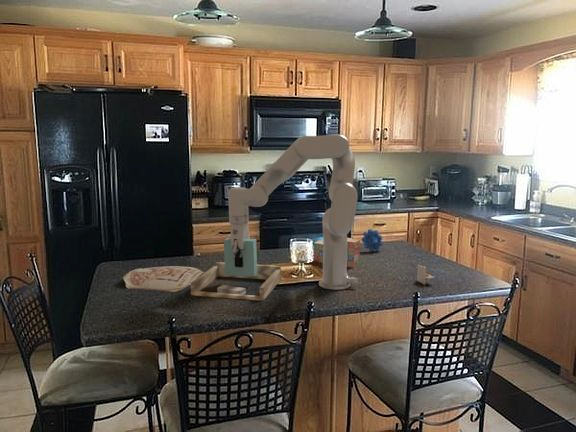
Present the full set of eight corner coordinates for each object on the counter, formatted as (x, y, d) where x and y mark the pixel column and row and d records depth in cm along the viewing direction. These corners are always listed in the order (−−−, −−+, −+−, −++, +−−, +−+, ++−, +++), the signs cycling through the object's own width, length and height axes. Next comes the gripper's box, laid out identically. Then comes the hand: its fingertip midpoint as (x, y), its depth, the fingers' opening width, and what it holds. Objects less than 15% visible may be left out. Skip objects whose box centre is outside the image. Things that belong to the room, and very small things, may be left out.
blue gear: (364, 254, 247) (365, 230, 245) (359, 251, 253) (360, 228, 251) (385, 252, 250) (386, 229, 248) (380, 249, 256) (380, 227, 254)
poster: (116, 296, 194) (186, 298, 188) (113, 281, 193) (184, 283, 187) (148, 271, 221) (211, 273, 215) (147, 258, 219) (210, 259, 213)
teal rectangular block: (257, 273, 192) (256, 238, 190) (254, 276, 189) (253, 241, 186) (228, 272, 195) (227, 238, 193) (225, 275, 191) (223, 240, 189)
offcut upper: (245, 293, 183) (245, 288, 182) (240, 296, 179) (240, 291, 179) (222, 289, 187) (222, 284, 186) (217, 292, 183) (217, 287, 183)
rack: (281, 282, 200) (281, 265, 199) (263, 304, 175) (263, 285, 174) (216, 277, 207) (216, 261, 205) (190, 298, 181) (190, 280, 180)
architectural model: (423, 280, 204) (424, 263, 203) (433, 285, 197) (434, 268, 196) (416, 281, 203) (417, 264, 202) (426, 286, 196) (427, 268, 195)
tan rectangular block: (312, 261, 233) (313, 236, 231) (319, 258, 238) (319, 234, 236) (354, 268, 222) (354, 241, 220) (359, 265, 227) (360, 239, 225)
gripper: (241, 223, 179) (243, 271, 182) (254, 215, 195) (256, 260, 198) (222, 223, 181) (224, 270, 184) (236, 215, 197) (238, 259, 200)
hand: (240, 264), depth 191 cm, fingers closed on teal rectangular block, 4 cm apart
